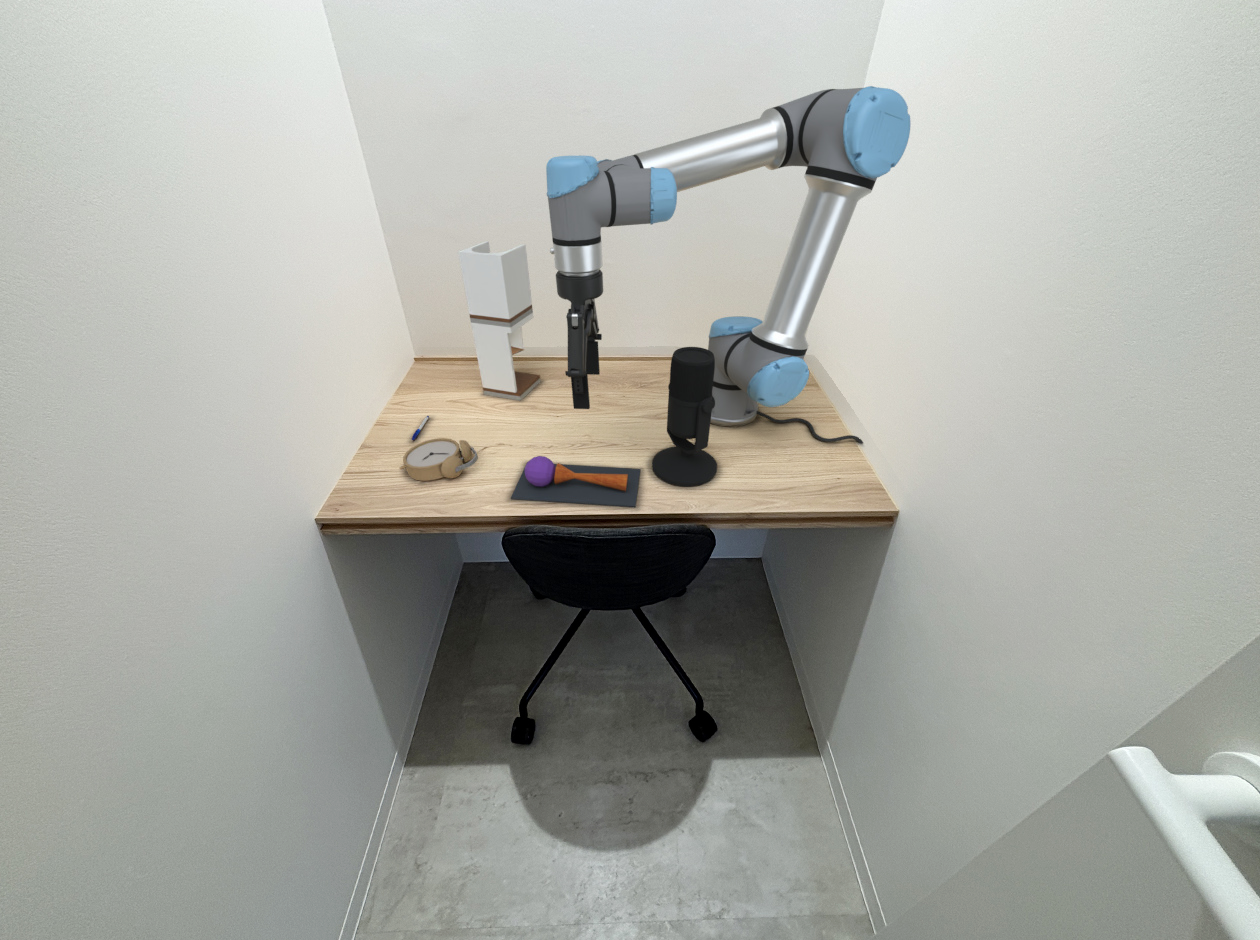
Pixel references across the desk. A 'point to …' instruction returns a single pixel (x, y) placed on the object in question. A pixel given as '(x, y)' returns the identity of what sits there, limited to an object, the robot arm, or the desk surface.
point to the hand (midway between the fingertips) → (587, 390)
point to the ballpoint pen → (419, 428)
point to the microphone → (688, 420)
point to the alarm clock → (438, 459)
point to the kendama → (568, 475)
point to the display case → (498, 315)
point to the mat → (582, 488)
